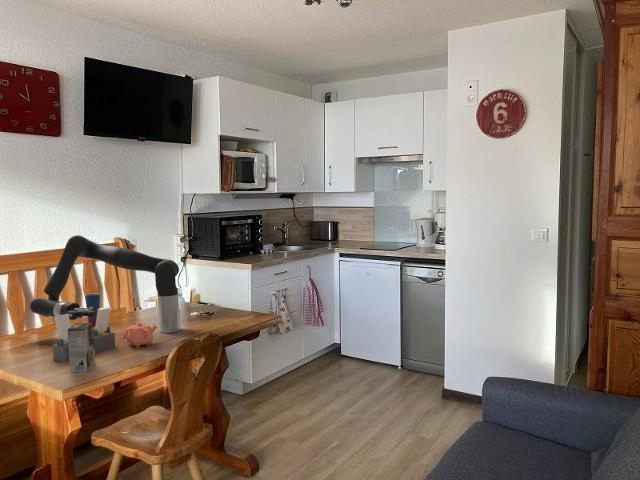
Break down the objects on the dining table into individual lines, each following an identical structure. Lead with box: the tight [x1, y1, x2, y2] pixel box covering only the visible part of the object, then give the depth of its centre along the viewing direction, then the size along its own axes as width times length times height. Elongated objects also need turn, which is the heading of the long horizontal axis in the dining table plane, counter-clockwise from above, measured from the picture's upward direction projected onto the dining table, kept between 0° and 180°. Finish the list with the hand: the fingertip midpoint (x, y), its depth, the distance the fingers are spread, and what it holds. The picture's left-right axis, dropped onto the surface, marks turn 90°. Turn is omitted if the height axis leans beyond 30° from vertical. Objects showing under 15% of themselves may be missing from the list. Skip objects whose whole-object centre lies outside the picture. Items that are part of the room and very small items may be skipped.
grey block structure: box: [52, 325, 116, 363], centre depth 220 cm, size 7×24×8 cm, turn 152°
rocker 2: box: [94, 306, 111, 334], centre depth 226 cm, size 2×5×11 cm, turn 152°
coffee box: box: [68, 322, 96, 373], centre depth 200 cm, size 9×6×16 cm
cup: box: [84, 292, 101, 326], centre depth 270 cm, size 7×7×15 cm
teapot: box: [123, 321, 158, 349], centre depth 231 cm, size 12×12×10 cm
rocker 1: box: [53, 313, 72, 344], centre depth 213 cm, size 2×5×11 cm, turn 151°
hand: (94, 314), depth 228 cm, fingers closed
